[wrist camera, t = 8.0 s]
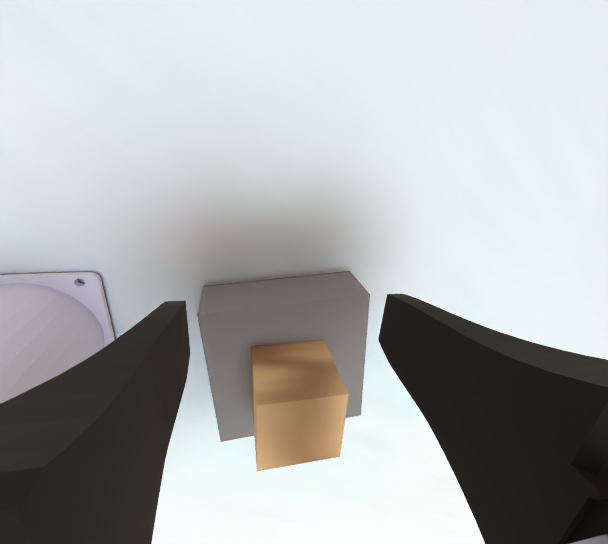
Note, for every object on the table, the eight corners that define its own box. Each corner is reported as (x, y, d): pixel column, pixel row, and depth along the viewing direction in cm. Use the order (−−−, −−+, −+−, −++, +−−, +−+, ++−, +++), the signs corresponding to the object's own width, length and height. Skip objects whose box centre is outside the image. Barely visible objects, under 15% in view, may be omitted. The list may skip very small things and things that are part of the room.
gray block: (223, 397, 24) (220, 441, 21) (204, 283, 20) (197, 314, 17) (343, 376, 26) (360, 414, 22) (347, 269, 22) (369, 294, 18)
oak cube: (252, 403, 20) (257, 471, 16) (250, 346, 18) (256, 405, 14) (318, 395, 21) (339, 456, 17) (323, 340, 19) (348, 394, 15)
